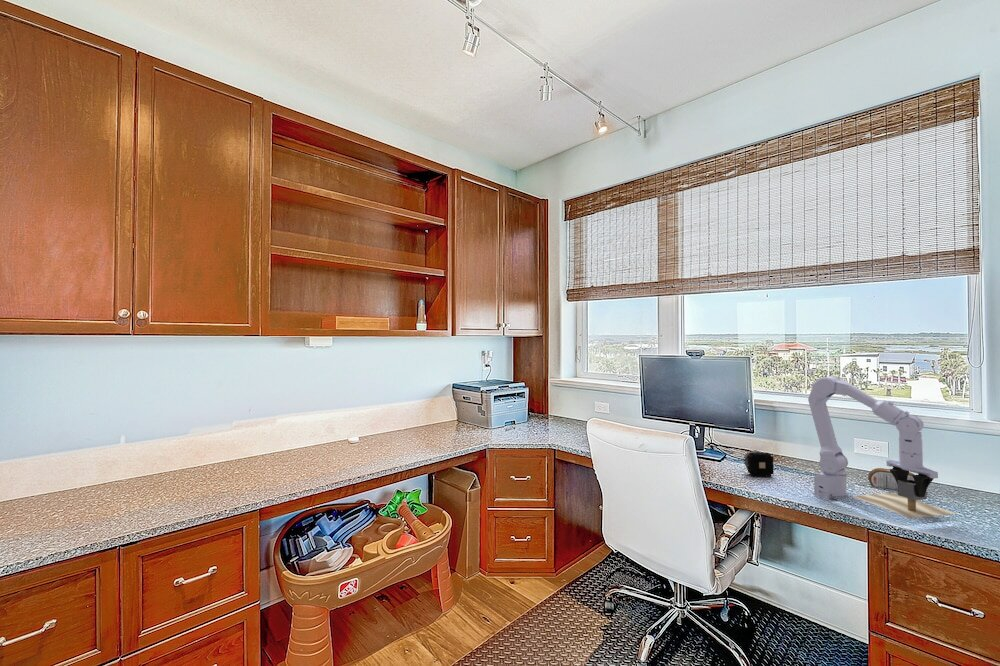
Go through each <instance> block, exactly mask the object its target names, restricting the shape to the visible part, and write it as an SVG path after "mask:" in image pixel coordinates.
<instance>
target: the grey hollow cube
mask: <svg viewBox="0 0 1000 666" xmlns="http://www.w3.org/2000/svg"><path fill="white" fill-rule="evenodd" d="M927 490H928V489H927ZM927 490H926V493H925V496H924V497H917V494H916V484H915V481H914V480H912V479H904V480H898V490H897V494H898V495H899V496H903V497H906V498H909V499H912V500H917V501H921V500H928V495H927V494H928V493H927V492H928V491H927Z"/></svg>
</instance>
